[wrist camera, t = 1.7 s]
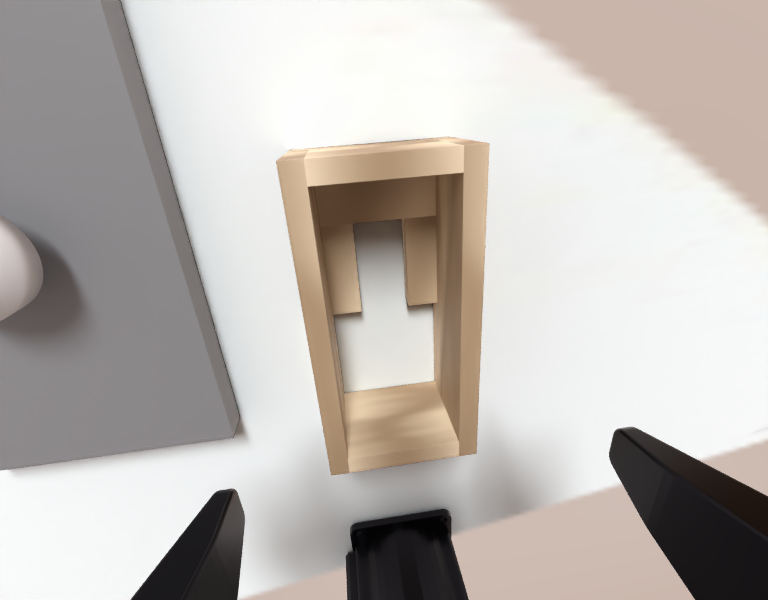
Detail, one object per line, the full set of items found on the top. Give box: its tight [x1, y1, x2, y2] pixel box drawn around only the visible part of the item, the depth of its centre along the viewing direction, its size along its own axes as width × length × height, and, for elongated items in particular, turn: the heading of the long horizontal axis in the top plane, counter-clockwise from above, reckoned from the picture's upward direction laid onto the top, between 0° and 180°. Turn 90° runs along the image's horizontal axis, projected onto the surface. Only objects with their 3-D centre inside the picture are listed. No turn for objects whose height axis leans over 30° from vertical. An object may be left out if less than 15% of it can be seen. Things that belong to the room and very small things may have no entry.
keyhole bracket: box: [276, 137, 489, 475], centre depth 17 cm, size 6×13×4 cm, turn 4°
